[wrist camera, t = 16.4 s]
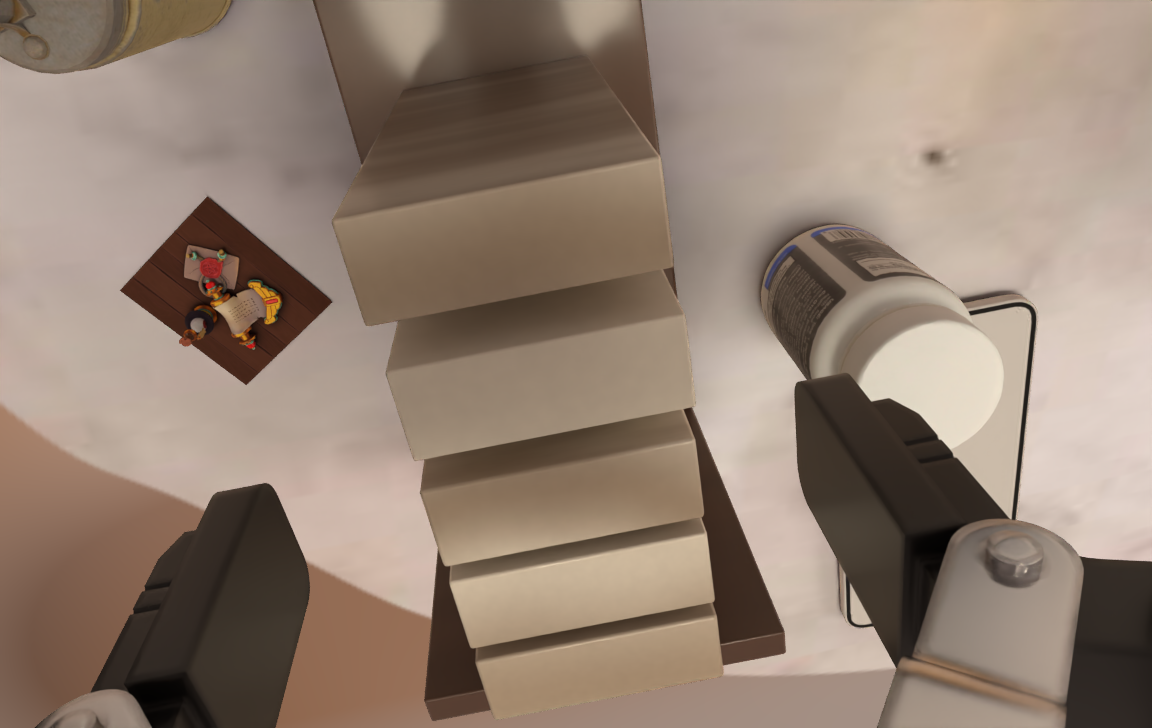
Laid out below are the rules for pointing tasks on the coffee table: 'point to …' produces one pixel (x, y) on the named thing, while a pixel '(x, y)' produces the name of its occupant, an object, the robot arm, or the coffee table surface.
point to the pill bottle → (882, 328)
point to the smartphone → (1003, 435)
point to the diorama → (225, 292)
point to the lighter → (96, 29)
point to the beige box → (540, 365)
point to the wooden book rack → (520, 268)
